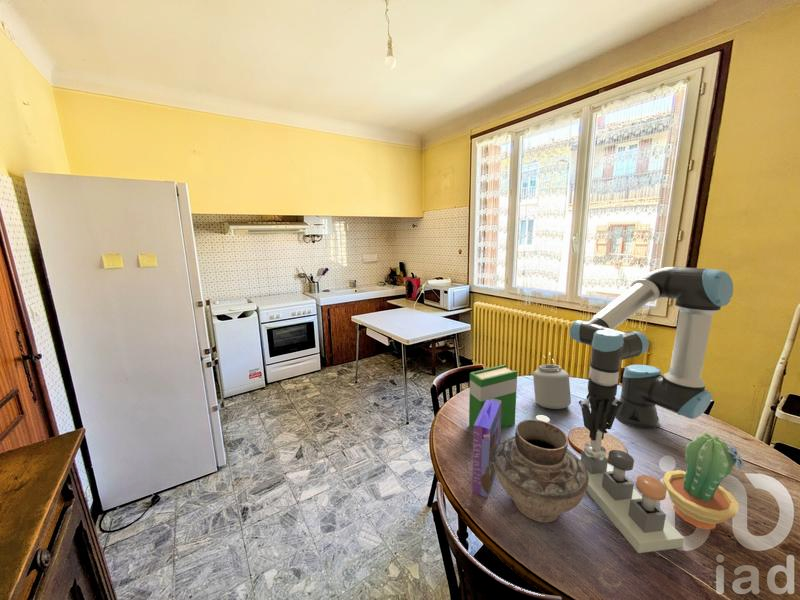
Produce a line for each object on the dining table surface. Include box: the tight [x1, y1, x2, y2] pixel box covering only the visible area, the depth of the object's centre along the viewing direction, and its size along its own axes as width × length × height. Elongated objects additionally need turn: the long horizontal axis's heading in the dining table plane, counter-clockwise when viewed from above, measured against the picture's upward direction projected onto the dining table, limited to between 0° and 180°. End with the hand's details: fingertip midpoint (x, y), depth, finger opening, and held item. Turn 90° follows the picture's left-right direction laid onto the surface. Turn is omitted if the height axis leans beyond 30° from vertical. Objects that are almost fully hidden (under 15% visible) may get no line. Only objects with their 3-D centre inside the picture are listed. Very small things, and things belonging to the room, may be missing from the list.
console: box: [577, 448, 685, 554], centre depth 93 cm, size 12×30×8 cm, turn 5°
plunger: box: [583, 441, 607, 460], centre depth 102 cm, size 6×6×7 cm
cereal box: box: [471, 398, 502, 499], centre depth 102 cm, size 17×5×24 cm, turn 152°
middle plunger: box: [607, 449, 635, 481], centre depth 91 cm, size 6×6×7 cm
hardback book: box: [468, 364, 518, 430], centre depth 129 cm, size 18×7×24 cm, turn 112°
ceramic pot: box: [493, 419, 589, 523], centre depth 91 cm, size 25×25×24 cm
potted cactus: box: [662, 432, 746, 531], centre depth 85 cm, size 15×15×25 cm
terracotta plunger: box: [635, 474, 668, 512], centre depth 81 cm, size 6×6×7 cm
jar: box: [532, 351, 572, 410], centre depth 143 cm, size 19×15×25 cm
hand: (595, 447), depth 101 cm, fingers closed
